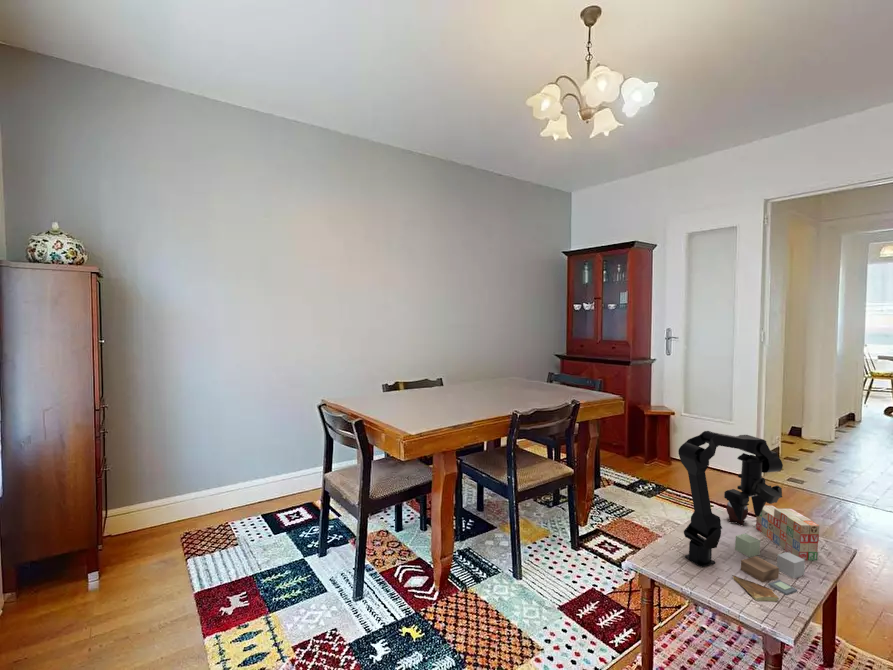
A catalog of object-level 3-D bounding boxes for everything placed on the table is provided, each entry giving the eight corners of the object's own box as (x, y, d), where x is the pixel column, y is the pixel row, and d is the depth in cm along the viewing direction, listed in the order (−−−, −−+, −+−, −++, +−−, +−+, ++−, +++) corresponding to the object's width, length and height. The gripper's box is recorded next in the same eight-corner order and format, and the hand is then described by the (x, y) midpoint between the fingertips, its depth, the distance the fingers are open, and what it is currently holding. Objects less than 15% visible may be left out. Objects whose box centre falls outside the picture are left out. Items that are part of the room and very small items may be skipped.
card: (786, 595, 129) (786, 592, 129) (768, 585, 133) (768, 582, 133) (797, 591, 131) (797, 588, 130) (779, 581, 135) (779, 578, 135)
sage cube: (749, 557, 149) (750, 543, 148) (735, 550, 153) (735, 535, 153) (759, 554, 150) (760, 540, 150) (745, 547, 155) (745, 533, 155)
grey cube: (793, 578, 137) (794, 563, 137) (776, 570, 142) (777, 554, 141) (804, 575, 139) (804, 559, 138) (786, 566, 143) (787, 551, 143)
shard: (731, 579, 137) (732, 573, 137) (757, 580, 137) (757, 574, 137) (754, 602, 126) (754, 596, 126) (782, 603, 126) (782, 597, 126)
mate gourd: (721, 518, 177) (723, 481, 176) (740, 517, 177) (741, 480, 176) (735, 527, 169) (737, 488, 168) (754, 526, 170) (756, 488, 169)
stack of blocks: (755, 529, 168) (756, 497, 168) (771, 529, 168) (773, 497, 167) (798, 560, 147) (800, 524, 146) (818, 561, 147) (820, 524, 146)
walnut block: (762, 583, 135) (763, 572, 135) (740, 570, 141) (741, 560, 141) (778, 578, 137) (778, 567, 137) (755, 566, 144) (756, 556, 144)
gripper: (758, 485, 140) (755, 533, 140) (794, 478, 147) (791, 524, 148) (724, 473, 150) (721, 518, 151) (759, 467, 157) (756, 510, 158)
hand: (748, 518), depth 151 cm, fingers open, 9 cm apart
